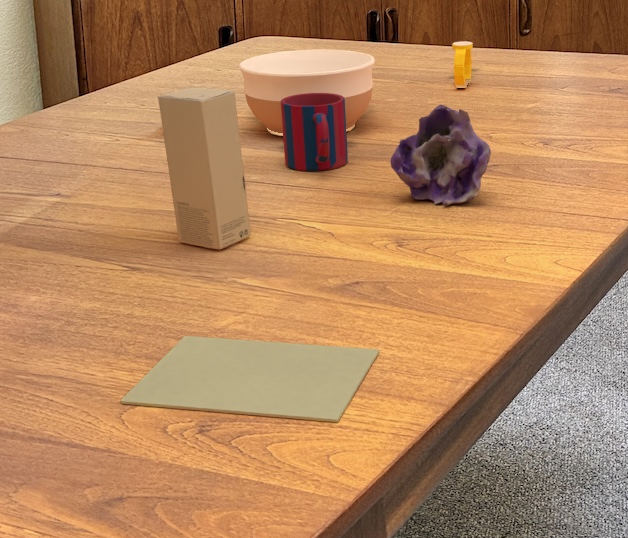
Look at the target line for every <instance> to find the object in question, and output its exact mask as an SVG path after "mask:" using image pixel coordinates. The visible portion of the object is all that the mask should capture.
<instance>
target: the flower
mask: <svg viewBox="0 0 628 538" xmlns="http://www.w3.org/2000/svg"><path fill="white" fill-rule="evenodd" d="M491 155H492V149H491V146H490V144H489V143H488V142H487V141H484V140H483V139H482V138H480V137H479V136H478V135H477V133H476V132H475V130H474V128H473V125H472V123H471V118H470V115H469V113H468V112H467V111H466V110H463V109H462V108H461V109H460V108H459V109H458V110H457V109H452V108H449V107H448V106H446V105H443V104H438V105H437V106H436V107H434V109H433V110H432V111H431V112H430V113H429V114H428V115H425V116H422V117H420V118H419V119H418V131H417V132H416V133H413V134H412V135H410V136H408V137H405V139H404V138H403V139H400V140H399V143H398V145H397V146H396V148H395V151H394V153H393V154H392V155H391V157H390V161H389V162H390V167H391V169H392V171H394V172H395V173H396V175H397V176H398V178H399V179H400V180H401V181H402V182H403V184H405V185H406V186H407V187H408V188H409V191H410V195H411V198H412V199H413V200H421V201H423V200H430V201H433V205H438V204H442V205H443V206H450V205H452V204H454V205H455V204H464V203H467V202H469V201H473V200H474V199H475V197H476V196H477V195H478V194H479V192H480V190H481V187H482V186H481V185H482V184H481V183H482V177H483V176H484V175H485V174H486V172H487V168H488V165H489V162H490V160H491Z"/></svg>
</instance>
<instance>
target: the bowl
mask: <svg viewBox="0 0 628 538" xmlns="http://www.w3.org/2000/svg"><path fill="white" fill-rule="evenodd" d="M375 63H376V58H375V57H374V56H373V55H371V54H369V53H366V52H362V51H354V50H348V49H347V50H346V49H330V48H329V49H325V48H323V49H322V48H321V49H320V48H318V49H314V48H313V49H295V50H284V51H277V52H276V51H275V52H270V53H265V54H264V53H263V54H259V55H255V56H252V57H249V58H247V59H244V60H242V61H241V62H240V63H239V65H238V68H239V70H240V72H241V74H242V77H243V92H244V96H245V99H246V103H247V106H248V108H249V109H250V111H251V112H252V114H253V116H254V117H255V118H256V119H257V120H258V121H259V122H260V123H261V124H262V125H264V126H265V128H266V129H267V128H268V129H269V130H271V131H274V132H278V133H283V127H282V113H281V100H282V99H283V98H285V97H288V96H292V95H297V94H305V93H332V94H338V95H341V96H343V97H344V98H345V113H346V129H348V128H350V127H352V126H353V125H354V124H355V123H356V124H357V121H358V120H359V119H360V118H362V116H363V114H364V113H365V112H366V111H367V109H368V107H369V104H370V102H371V100H372V95H373V88H374V87H373V86H374V82H373V68H374V65H375Z"/></svg>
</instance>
